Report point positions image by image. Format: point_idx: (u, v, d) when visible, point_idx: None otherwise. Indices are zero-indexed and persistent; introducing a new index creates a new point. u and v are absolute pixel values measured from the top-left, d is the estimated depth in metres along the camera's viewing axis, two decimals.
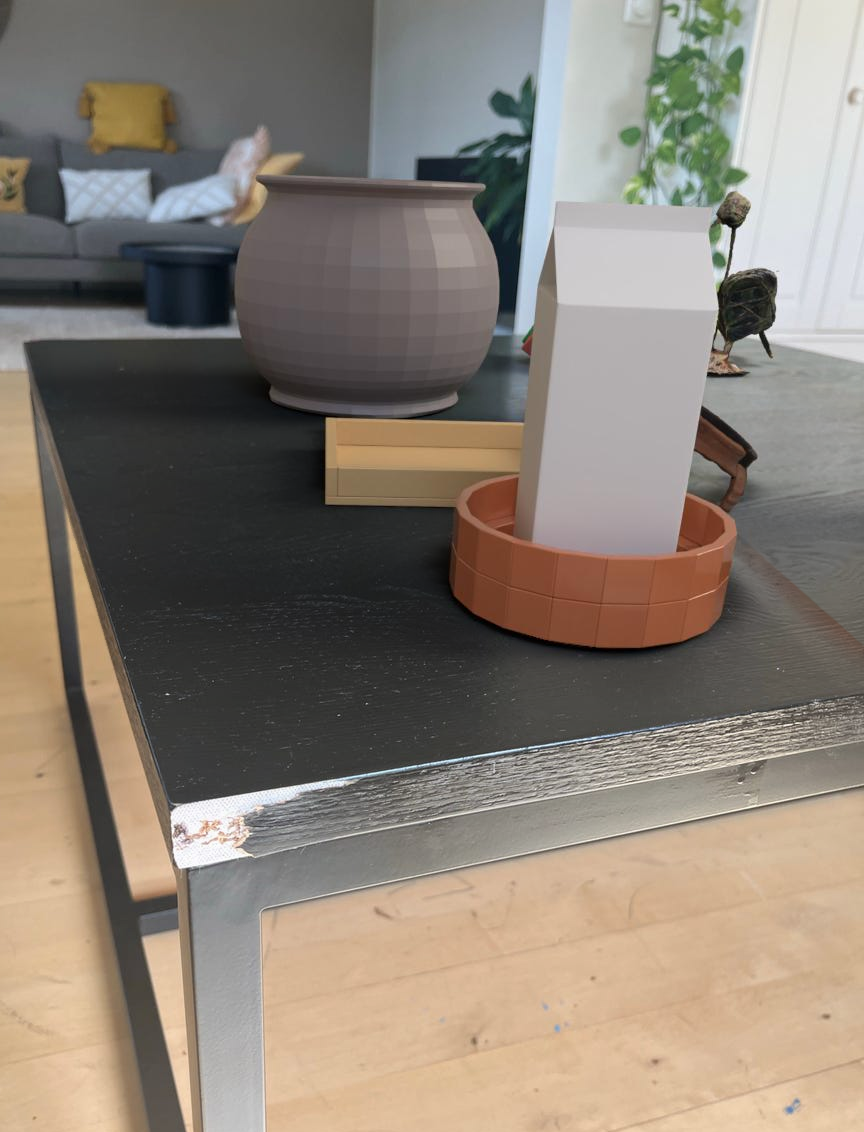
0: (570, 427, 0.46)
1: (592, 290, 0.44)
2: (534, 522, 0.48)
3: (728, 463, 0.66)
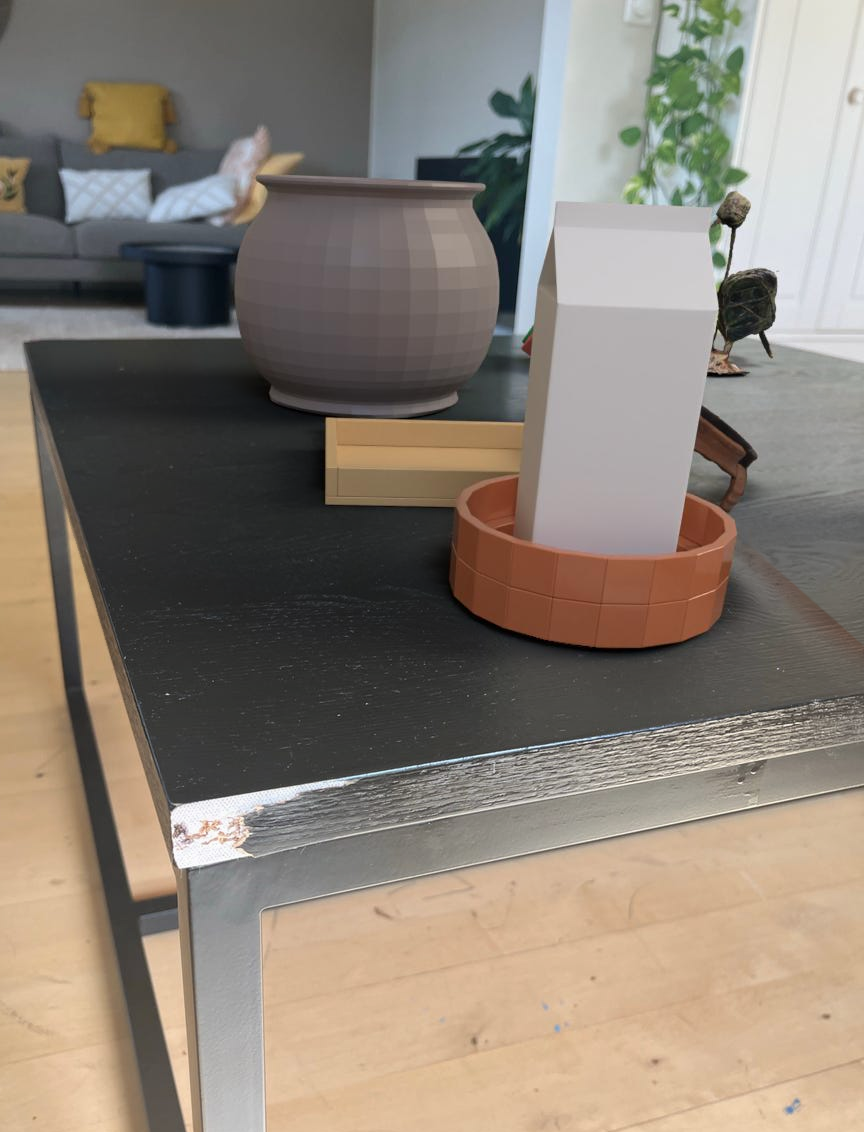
0: (570, 427, 0.46)
1: (592, 290, 0.44)
2: (534, 522, 0.48)
3: (728, 463, 0.66)
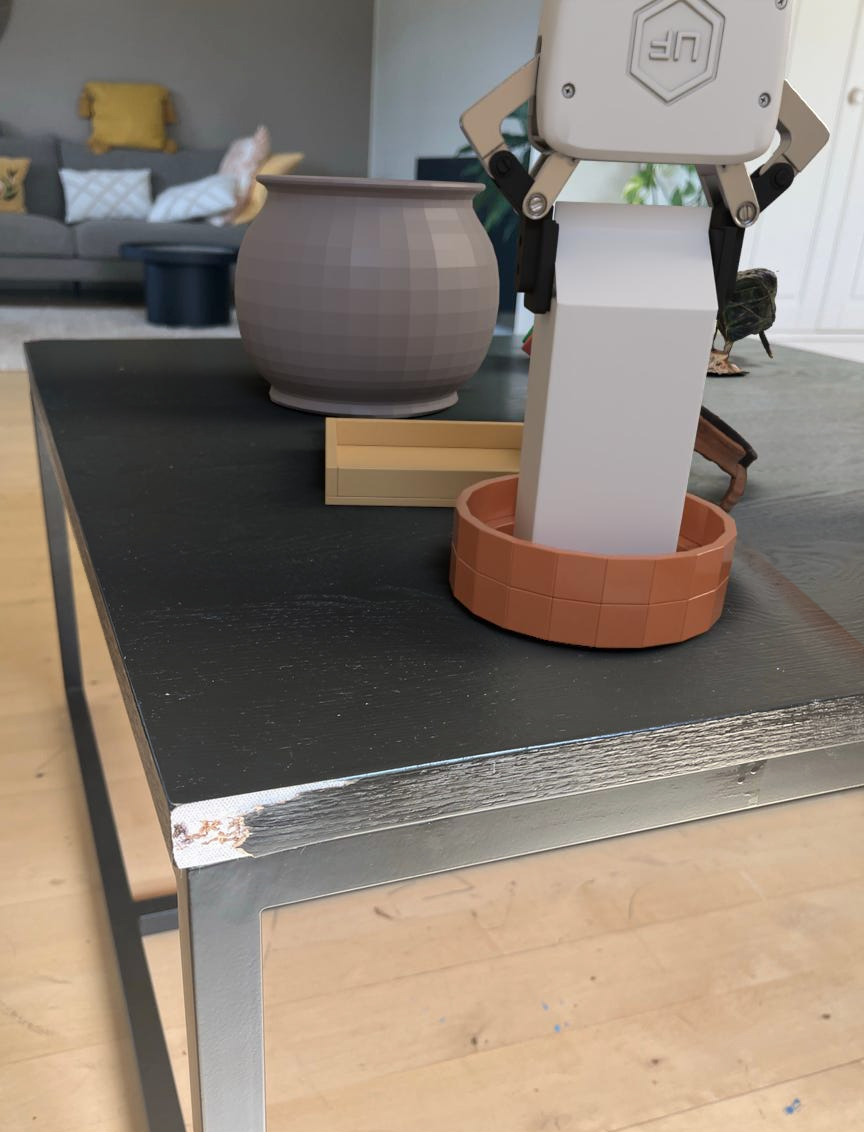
0: (570, 427, 0.46)
1: (592, 290, 0.44)
2: (534, 522, 0.48)
3: (728, 463, 0.66)
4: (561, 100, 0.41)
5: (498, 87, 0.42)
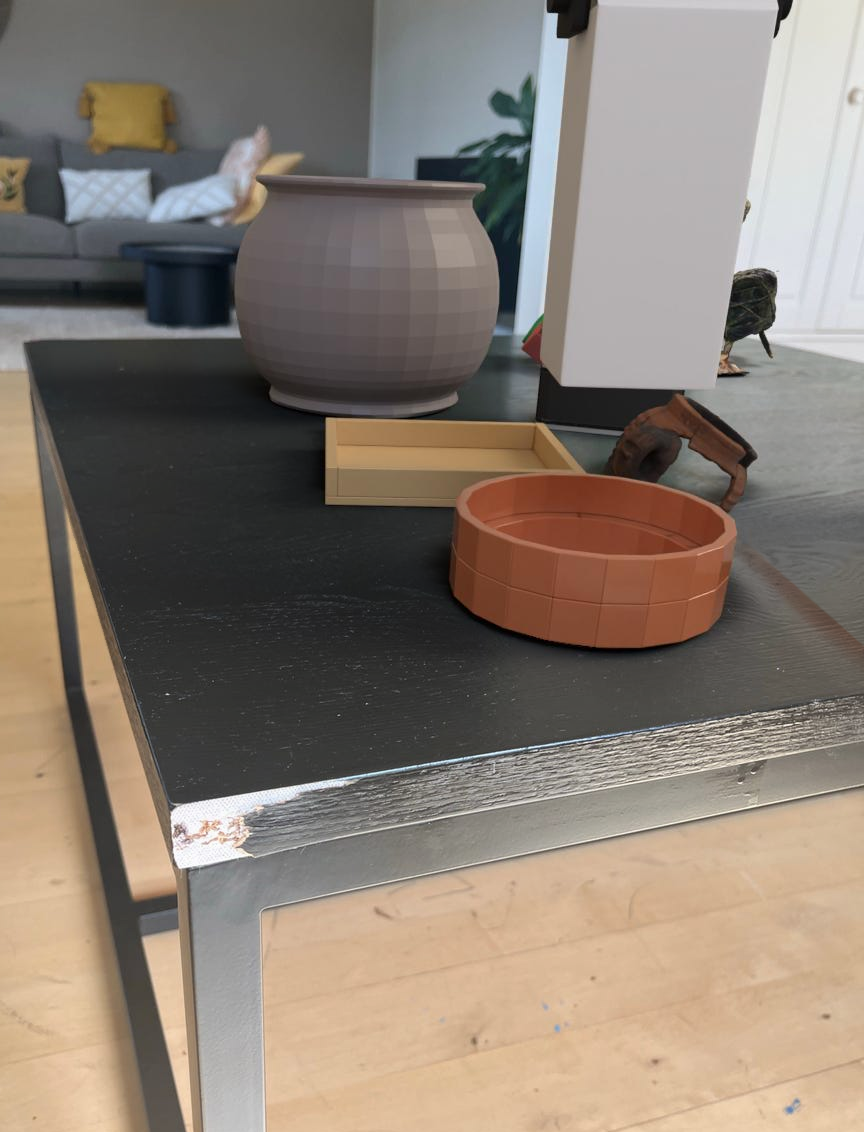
0: (612, 159, 0.41)
1: None
2: (571, 278, 0.43)
3: (728, 463, 0.66)
4: None
5: None
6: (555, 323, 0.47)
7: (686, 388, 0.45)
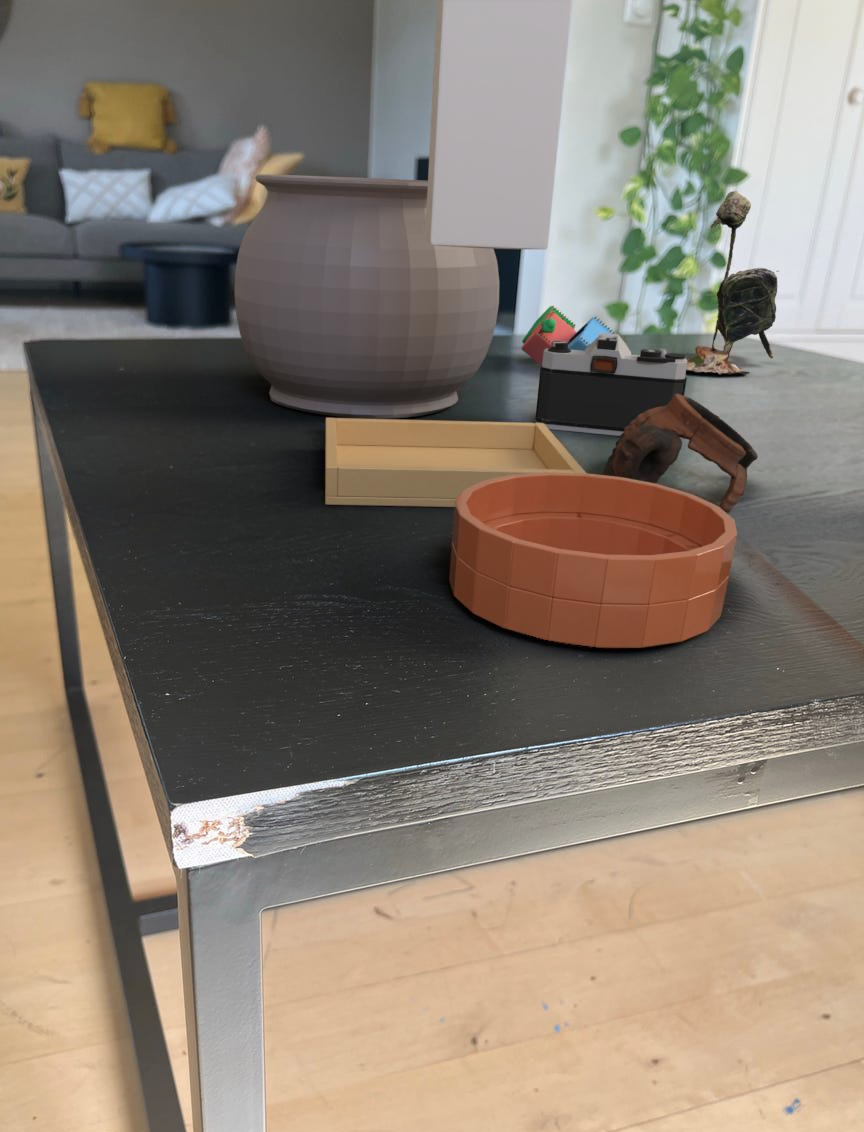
0: (461, 66, 0.55)
1: None
2: (435, 158, 0.57)
3: (728, 463, 0.66)
4: None
5: None
6: None
7: (525, 247, 0.59)
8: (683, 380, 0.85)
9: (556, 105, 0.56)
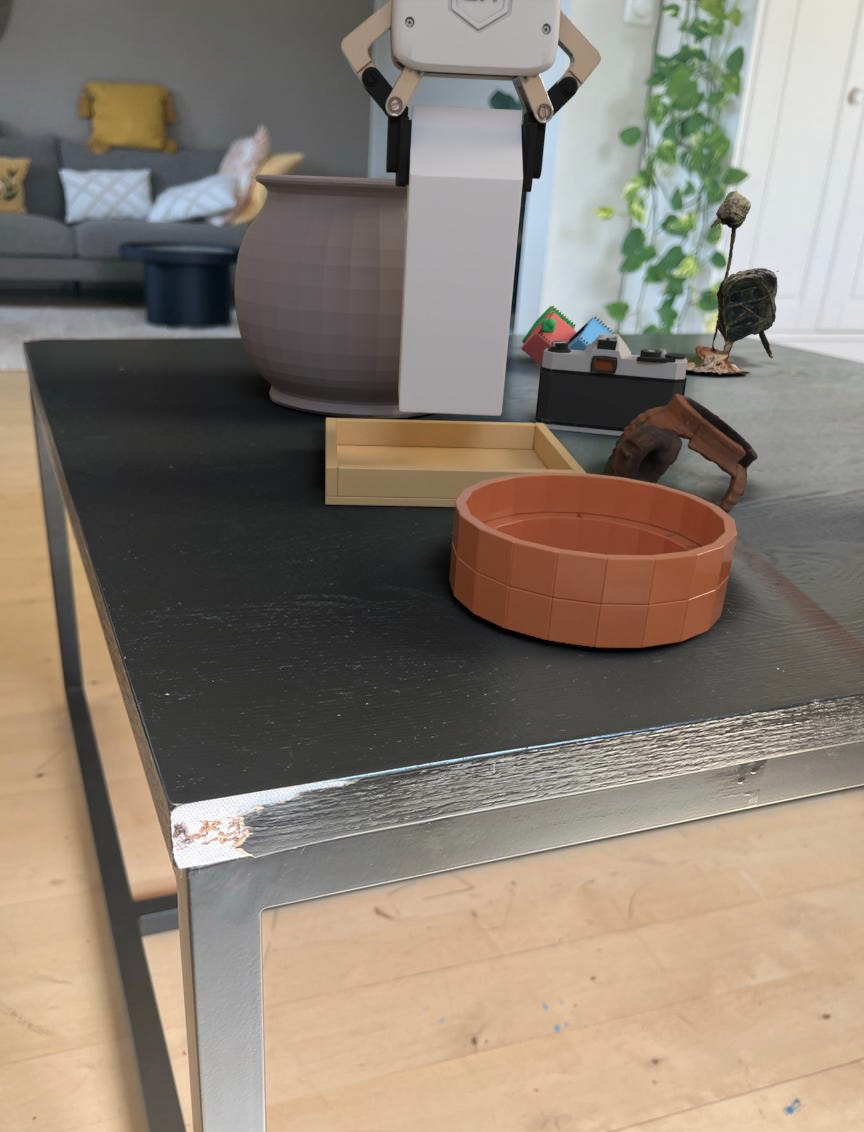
0: (424, 267, 0.64)
1: (434, 166, 0.62)
2: (402, 341, 0.66)
3: (728, 463, 0.66)
4: (405, 29, 0.59)
5: (365, 21, 0.60)
6: None
7: (482, 414, 0.68)
8: (683, 380, 0.85)
9: (507, 299, 0.65)
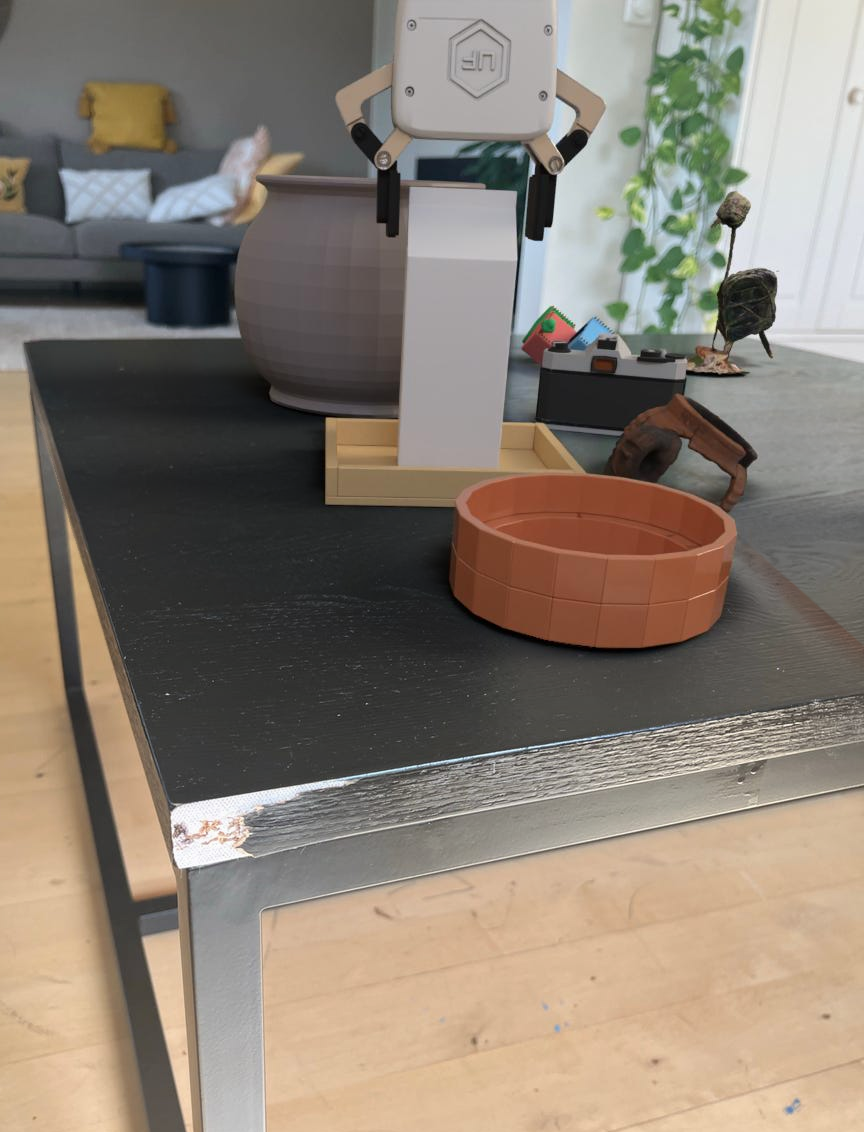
0: (421, 343, 0.66)
1: (432, 247, 0.64)
2: (400, 412, 0.68)
3: (728, 463, 0.66)
4: (405, 98, 0.60)
5: (362, 78, 0.62)
6: (398, 435, 0.72)
7: None
8: (683, 380, 0.85)
9: (502, 373, 0.67)
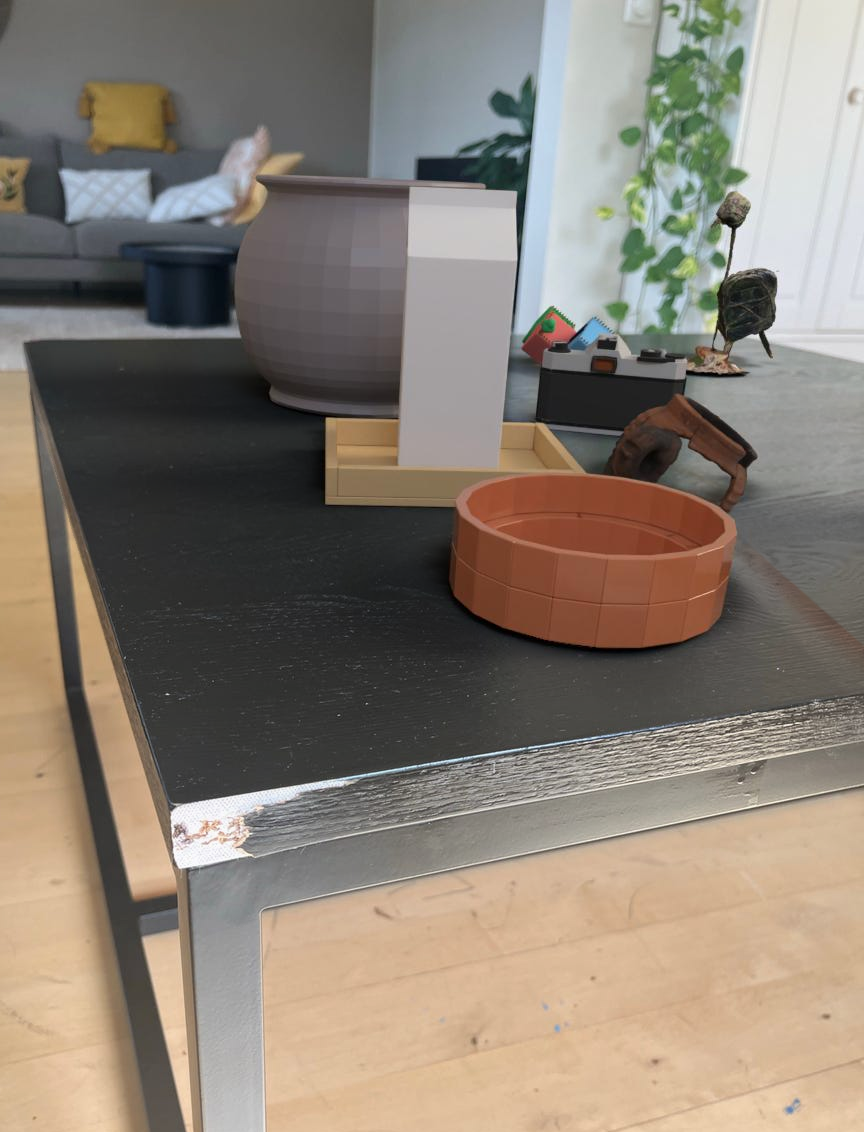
0: (421, 343, 0.66)
1: (432, 247, 0.64)
2: (400, 412, 0.68)
3: (728, 463, 0.66)
4: None
5: None
6: (398, 435, 0.72)
7: None
8: (683, 380, 0.85)
9: (502, 373, 0.67)
